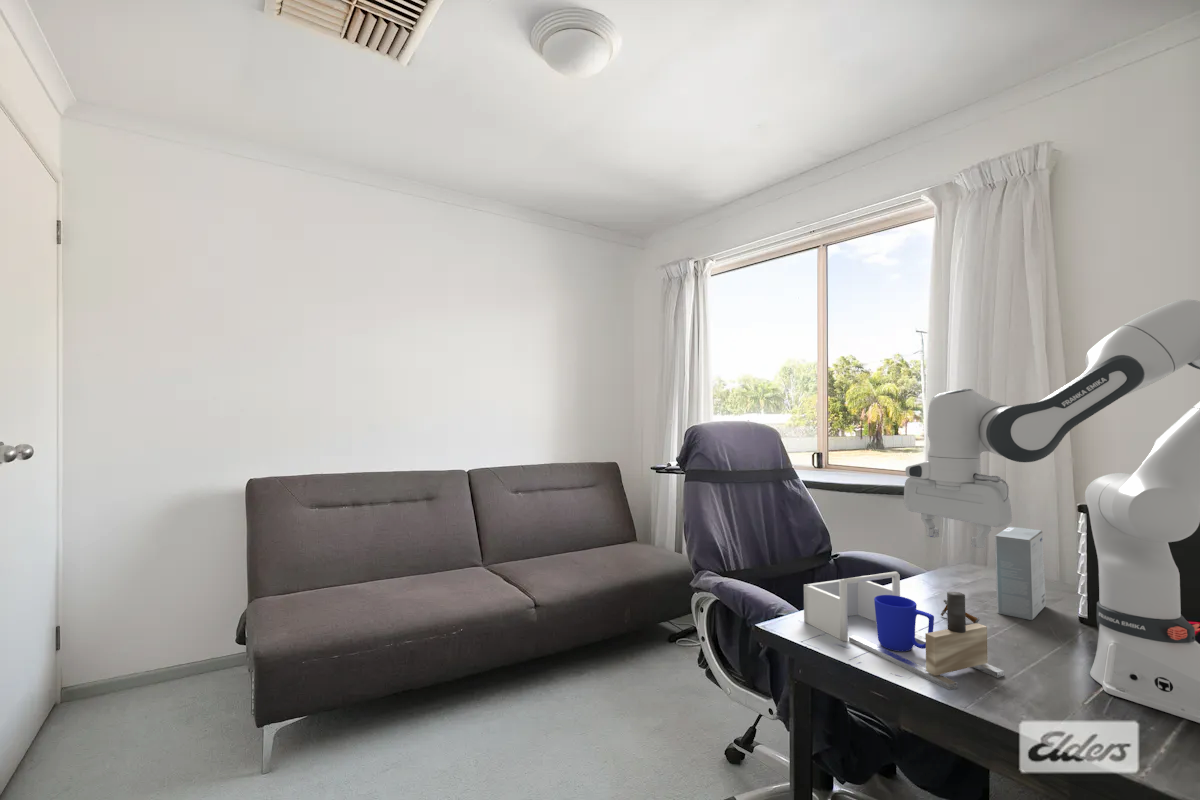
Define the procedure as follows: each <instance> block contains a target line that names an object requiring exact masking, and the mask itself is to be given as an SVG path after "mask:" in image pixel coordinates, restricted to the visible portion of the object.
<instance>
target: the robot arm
mask: <svg viewBox="0 0 1200 800" xmlns="http://www.w3.org/2000/svg"><path fill="white" fill-rule="evenodd" d="M1085 355H1086V356H1085V361H1084V363H1085V364H1084V365H1085V368H1086V369H1085V370H1084V372H1082V374H1080V375H1079V376H1077V377H1076V378H1074V379H1072V380H1071V381H1070V382H1068V383H1067V384H1065V385H1063V386H1061V387H1060V388H1058V389H1057V390H1056V391H1053V392H1052V393H1051V394H1049V395H1048V396H1046V397H1044V398H1042V399H1040V400H1038V401H1035V402H1031V403H1024V404H1018V405H1007V404H1005V403H1002V402H999V401H995V400H993V399H992V398H991V399H990V398H989V397H986V396H984V395H982V394H980V393H978V392H977V391H976V390H975V389H973V388H961V389H955V390H949V391H943V392H940V393H938V394H935V395H934V396H933V397H932V398H931V400H930V401H929V405H928V412H927V437H928V439H929V448H928V451H927V461H924V462H920V463H917V464H913V465H908V466H906V467H905V470H904V471H905V472H904V473H905V476H906V477H908V478H906V480H905V481H904V488H903V498H904V499H903V502H904V503H903V504H904V507H905V508H906V510H907V511H908V512H911V513H912V512H913V513H918V514H920V518H921V521H922V523H923V524H924V526H925V529H926V536H927V537H929V538H939V537H940V528H938V527H936V525H935V523H934V521H933V520H935V517H938V518H939V517H940V518H946V519H949V520H955V521H961V522H965V523H971V524H975V526H976V527H975V528H976V530H977V531H978V532H977V534H976V536H971V538H970V541H971V542H970V546H971V547H973V548H978V549H984V548H985V547H986V539H987V537H988V536H989V534H990V533H991V531H992V528H1006V527H1007V528H1008V527H1009V526H1010V525H1011V523H1012V521H1013V512H1012V505H1011V500H1010V487H1009V486H1010V485H1009V484H1008V483H1007V482H1006V480H1004V479H1003V478H1001V476H998V475H987V474H983V473H981V454H983V452H988V453H991V454H995V455H998V456H1001V457H1003V458H1006V459H1008V460H1010V461H1014V462H1015V463H1016V462H1018V463H1033V462H1037V461H1040V460H1043V459H1044V458H1046V457H1048V456H1049V455H1051V454H1052V453H1053V452H1054V451H1055V449H1056V448H1057V447H1058V446H1059V445H1060V443H1061V442H1062V440H1063V439H1064V438H1065V437H1066V435H1067V434H1068V433H1069V432H1070V431H1071V430H1072V429H1073V428H1075V427H1076V426H1078V425H1079V424H1081V423H1083V422H1084V421H1086V420H1087V419H1089V418H1091V417H1093V415H1095V414H1097V413H1099V412H1100V411H1101V410H1103V409H1105V408H1106V407H1107V406H1110V405H1112V403H1115V402H1116V401H1118V400H1119V399H1121V398H1122V397H1125V396H1127V395H1129V394H1132V393H1134V392H1137V391H1138V390H1142V389H1144V388H1146V387H1148V386H1150V385H1152V384H1155V383H1156V382H1159V381H1161V380H1163V379H1165V378H1166V377H1168V376H1170V375H1171V374H1173V373H1176V372H1177V371H1178V370H1180V369H1181V368H1183V367H1185V366H1186V365H1188V366H1190V367H1192V368H1195V369H1197V370H1200V300H1196V299H1189V298H1188V299H1178V300H1174V301H1172V302H1169V303H1166V304H1164V305H1161V306H1159V307H1157V308H1156V307H1155V309H1151V310H1150V311H1148V312H1146V313H1143V314H1141V315H1139V316H1137V317H1135V318H1134V319H1132V320H1129V321H1128V322H1126V323H1124V324H1123V325H1121V326H1119V327H1118V328H1116V329H1115V330H1113V331H1112V332H1109V333H1108V334H1107V335H1105V336H1104V337H1102V339H1099V341H1098V342H1097V343H1095V344H1094V345H1093V346H1092V347H1091V348H1089V350H1087V353H1086V354H1085ZM1084 499H1085V504H1086V505H1087V509H1088V514H1089V521H1090V526H1091V532H1092V538H1093V541H1094V542H1093V543H1094V546H1095V550H1096V555H1097V557H1096V558H1097V565H1098V587H1099V588H1098V589H1099V591H1098V592H1099V597H1098V598H1099V600H1098V601H1097V602H1096V625H1097V629H1098V639H1097V644H1096V645H1097V646H1096V652H1095V657H1094V661H1093V663H1092V666H1091V669H1090V672H1089V675H1090V676H1091V677H1092V679H1094V681H1096V682H1097V683H1098V684H1100V685H1101V686H1102V689H1103V690H1104V692H1105V693H1107V694H1109V695H1112V696H1115V697H1118V698H1121V699H1125V700H1126V701H1127V700H1128V701H1131V702H1134V703H1136V704H1140V705H1143V706H1146V707H1149V708H1153V709H1154V710H1158V711H1161V712H1165V713H1168V714H1171V715H1174V716H1177V717H1180V718H1183V719H1186V720H1189V721H1193V722H1196V723H1198V724H1200V643H1199V642H1198V641H1197V640H1196V632H1198V631H1200V628H1199V627H1200V624H1199V623H1195V624H1191V623H1190V622H1189V621H1188V620H1186V618H1185V617H1184V616H1183V615H1182V614H1181V611H1182V609H1181V579H1180V575H1181V574H1180V572H1179V568H1178V566H1177V565H1176V562H1175V560H1174V557H1173V555H1172V552H1171V549H1170V545H1169V543H1172V542H1173V543H1174V542H1179V541H1182V540H1184V539H1187V538H1188V537H1191V536H1192V535H1193V534H1194V533H1195V532H1196V531H1197V530H1198V528H1199V526H1200V400H1199V401H1198V402H1197V403H1196V404H1194V405H1193V406H1192V407H1191V408H1190V409H1188V410H1187V411H1186V412H1185V413H1184V414H1183V415H1182V416H1181V417H1179V418H1178V419H1177V420H1176V421H1175V422H1174V423H1173V424H1172V425H1171V426H1169V427H1168V428H1167V429H1166V430H1165V431H1164V432H1163V433H1162V434H1161V435H1159V436H1158V437H1157V438H1156V439H1155V440H1154V443H1153V447H1152V449H1151V450H1150V452H1149V453H1148V455H1147V456H1146V458H1145V459H1144V460H1143V461H1142V463H1141V465H1139V467H1138V468H1137V469H1136V470H1135V471H1134V472H1133V473H1127V472H1113V473H1109V474H1104V475H1102V476H1099V477H1097V478H1095V479H1094V480H1092V481H1091V482H1090V483H1089V484H1088V485H1087V487H1086V488H1085V492H1084Z"/></svg>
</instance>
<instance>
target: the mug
mask: <svg viewBox="0 0 1200 800" xmlns="http://www.w3.org/2000/svg"><path fill="white" fill-rule="evenodd" d="M874 602H875V613H876V622H875V623H876V629H877V630H876V632H877V640H878V643H879V644H880V646H881V647H882V648H884V649H886V650H889V651H890V650H891V651H895V652H909V651H911V650H912V649H913V647H914V646H915V647H916V648H919V649H926V642H925V644H923V645H921V644H918V643H917V642H916V641H915V634H916V622H917V621H916V620H917V616H919V615H920V616H922V617H926V618H927V619H928V627H927V628H928V629H927V633H930V632H934V626H935V616H934V615H933V614H932V613H929V612H926V611H923V610H920V609H917V606H918V605H917V603H916V601H914V600H913V599H910V598H908V597H904V596H901V595H900V596H894V595H880V596H877V597H875V598H874Z"/></svg>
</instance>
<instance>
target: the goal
mask: <svg viewBox="0 0 1200 800" xmlns="http://www.w3.org/2000/svg"><path fill="white" fill-rule="evenodd" d="M890 578H891V580H892V581H891V586H892V587H888V586H884V585H881V584H879V583H877V582H873V581H878V580H883V579H890ZM900 579H901V577H900V574H899V572H898V571H889V572H888V571H887V572H883V573H876V574H870V575H869V574H868V575H861V576H855V577H853V576H852V577H848V578H841V579H834V580H827V581H820V582H813V583H807V584H803V622H804V623H806V624H808V625H810V626H812V627H814V628H816V629H818V630H820V631H822V632H825V633H826V634H828V635H830V636H832V637H834V638H836V639H838V640H840V641H842V642H849V634H848V631H849V630H848V629H849V627H848V626H849V624H848V623H849V622H848V618H849V617H852V616H861V617H863V618H865V619H868V620H870V621H873V622H875V623H876V613H875V602H874V598H875V597H877V596H880V595H894V596H900V597H901V581H900Z"/></svg>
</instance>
